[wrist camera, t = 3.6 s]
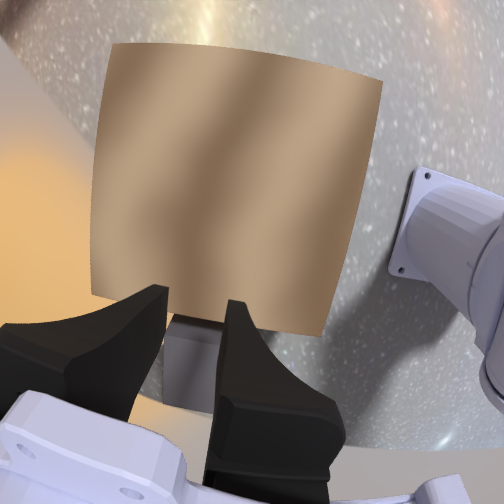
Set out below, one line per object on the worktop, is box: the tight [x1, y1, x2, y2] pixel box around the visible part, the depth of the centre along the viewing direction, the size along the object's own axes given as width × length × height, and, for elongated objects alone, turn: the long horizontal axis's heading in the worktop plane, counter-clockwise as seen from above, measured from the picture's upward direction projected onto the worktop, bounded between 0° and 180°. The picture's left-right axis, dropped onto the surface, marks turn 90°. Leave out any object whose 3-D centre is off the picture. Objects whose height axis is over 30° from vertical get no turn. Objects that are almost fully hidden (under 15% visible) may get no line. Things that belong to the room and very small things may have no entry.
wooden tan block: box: [90, 43, 383, 337], centre depth 15 cm, size 13×14×1 cm
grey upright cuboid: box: [163, 313, 224, 414], centre depth 22 cm, size 4×6×6 cm, turn 170°
